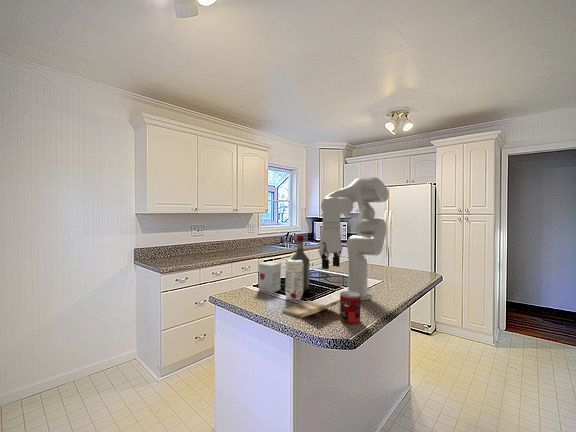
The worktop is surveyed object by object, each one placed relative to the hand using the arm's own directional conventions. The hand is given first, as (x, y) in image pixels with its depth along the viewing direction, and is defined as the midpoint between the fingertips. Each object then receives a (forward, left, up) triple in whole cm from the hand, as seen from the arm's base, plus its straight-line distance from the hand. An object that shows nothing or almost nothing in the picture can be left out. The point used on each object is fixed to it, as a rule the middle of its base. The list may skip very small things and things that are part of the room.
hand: (330, 267), depth 124 cm
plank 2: (0, -1, -18) cm, 18 cm away
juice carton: (-6, -26, -20) cm, 33 cm away
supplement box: (-7, -44, -20) cm, 49 cm away
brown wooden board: (+4, -11, -20) cm, 23 cm away
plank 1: (+9, -1, -18) cm, 20 cm away
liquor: (-22, -35, -20) cm, 46 cm away
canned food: (+1, +11, -20) cm, 23 cm away
